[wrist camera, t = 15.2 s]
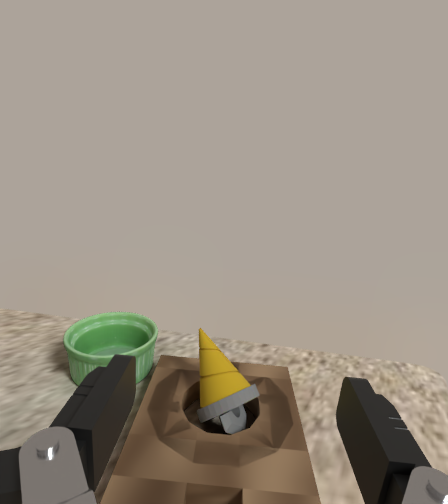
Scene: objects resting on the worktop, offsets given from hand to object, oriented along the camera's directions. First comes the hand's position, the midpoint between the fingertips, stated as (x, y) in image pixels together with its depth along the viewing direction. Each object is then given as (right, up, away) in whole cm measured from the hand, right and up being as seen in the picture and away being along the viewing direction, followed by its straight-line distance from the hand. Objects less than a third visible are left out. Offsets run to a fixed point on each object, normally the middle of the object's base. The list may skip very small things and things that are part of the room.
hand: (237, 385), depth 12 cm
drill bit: (-1, -10, +16) cm, 18 cm away
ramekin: (-12, -7, +21) cm, 26 cm away
